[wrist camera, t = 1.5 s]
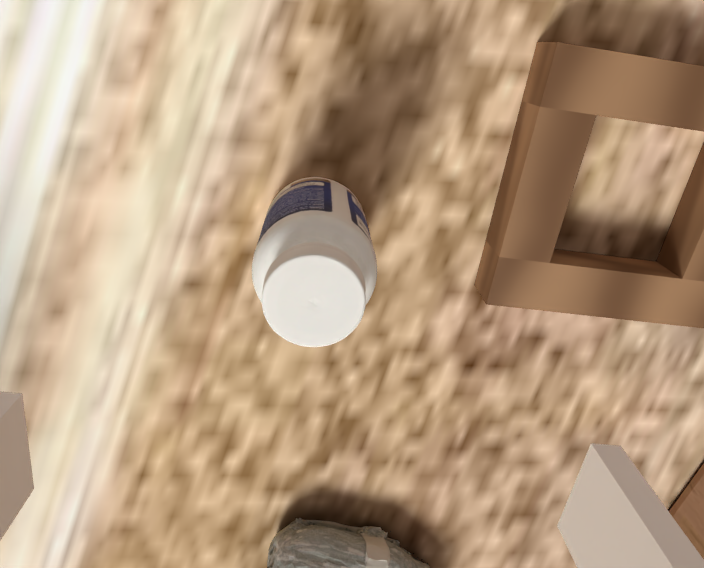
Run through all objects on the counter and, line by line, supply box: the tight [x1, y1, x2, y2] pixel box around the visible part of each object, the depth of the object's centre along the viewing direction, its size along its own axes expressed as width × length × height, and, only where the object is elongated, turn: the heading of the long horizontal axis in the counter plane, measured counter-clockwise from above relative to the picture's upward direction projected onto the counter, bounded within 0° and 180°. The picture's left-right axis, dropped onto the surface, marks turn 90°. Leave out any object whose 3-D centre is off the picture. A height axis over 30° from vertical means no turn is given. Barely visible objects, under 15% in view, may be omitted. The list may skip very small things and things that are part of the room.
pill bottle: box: [252, 177, 377, 347], centre depth 25 cm, size 5×5×10 cm
